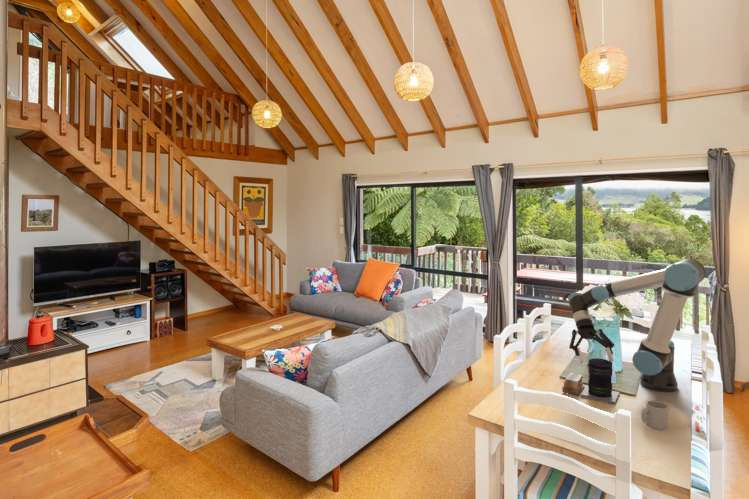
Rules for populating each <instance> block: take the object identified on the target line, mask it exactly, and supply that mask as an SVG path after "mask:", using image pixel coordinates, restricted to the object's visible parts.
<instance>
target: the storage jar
mask: <svg viewBox="0 0 749 499" xmlns="http://www.w3.org/2000/svg"><path fill="white" fill-rule="evenodd" d="M587 367H588V381H587V386H588V388H589V390H588V392H589V393H590V394H591V395H593V396H596V397H601V398H608V397H611V396H612V393H611V392H612V391H613V382H612V376H613V362H610V361H609V359H605V358H595V357H594V358H590V359H588V365H587Z"/></svg>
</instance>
